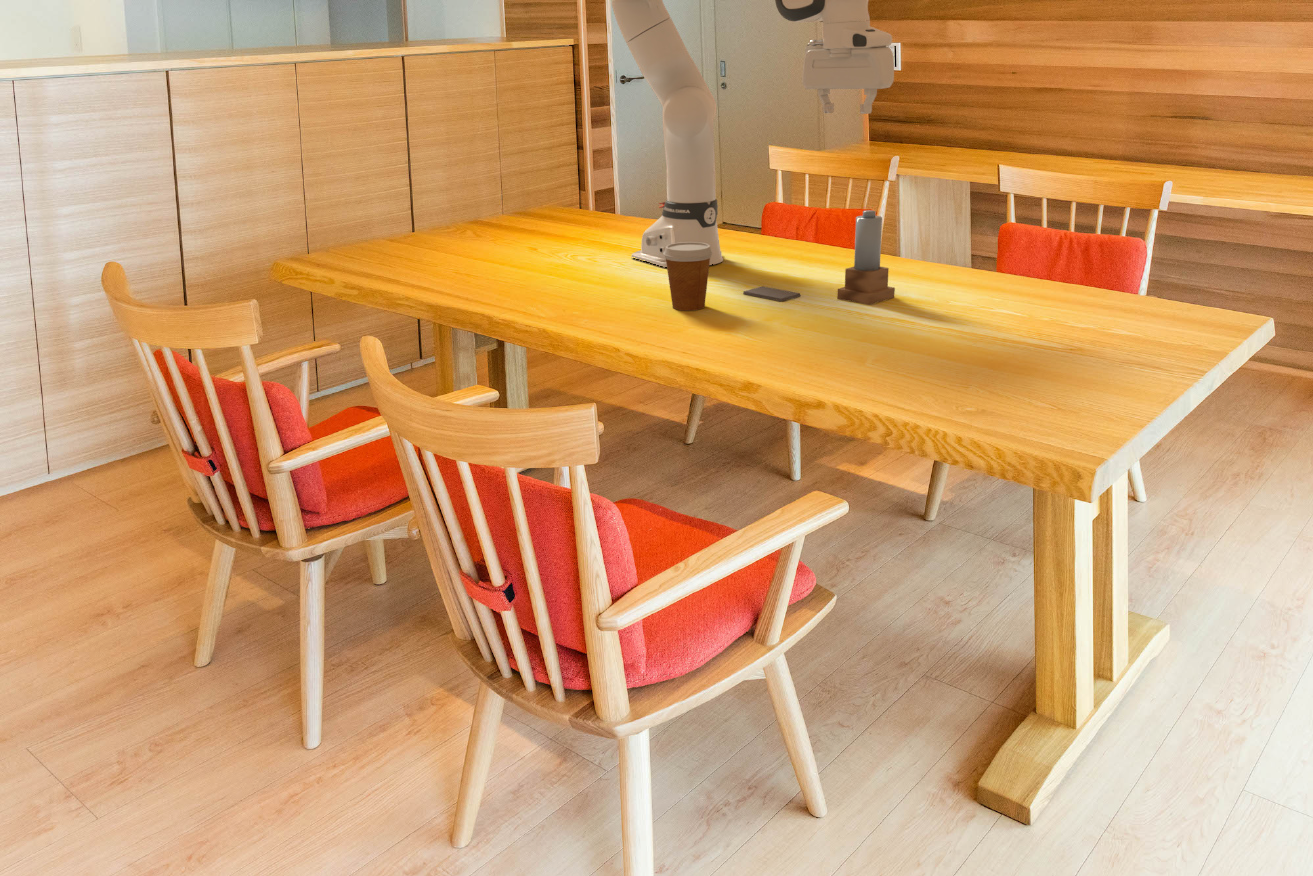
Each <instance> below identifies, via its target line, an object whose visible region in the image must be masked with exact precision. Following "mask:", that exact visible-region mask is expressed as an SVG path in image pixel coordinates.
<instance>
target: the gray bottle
mask: <svg viewBox="0 0 1313 876" xmlns="http://www.w3.org/2000/svg"><path fill="white" fill-rule="evenodd" d="M876 214H877V213H876V210H872V209H870V210H869V209H867V210H863V211H862V215H858V216H856V217H855V234H854V235H855V239H854V263H853V264H854V265H853V267H854V269H856V270H860V271H875V270H879V269H880V267H881V251H882V233H883V232H882V227H883V217H882V216H880V215H876Z"/></svg>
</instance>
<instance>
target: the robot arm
mask: <svg viewBox="0 0 1313 876" xmlns="http://www.w3.org/2000/svg"><path fill="white" fill-rule="evenodd" d="M869 1H870V0H774V2H775V7H776V9H777V11H778V12H779V14H780V15H781V17H782V18H784V20H786V21H790V22H793V23H814V22H815V23H817V22H820V23H822V39H811V40H810V42H808V43H807V45H806V46H805V48H804V59H803V68H802V85H803V87H804V88H805V90H817V96H818V98H819V101H820V102H821V104H822V113H823V114H831V113H834V111H835V102H831V100H830V97H829V95H830V94H831V90H839V89H840V90H863V93H864V96H865V98H864V102H863V103H860V104H859V109H860V110H859V113H860V114H865V115H866V114H867V115H869V114H871V113H872V111H873V103H874V101H875V98H876V97H877V95H878V90H880V89H883V90H884V89H887V88H888V89H889V88H891V86H892V85H893V83H894V81H895V61H894V53H893V51H892V49H891V48H890V47H889V46H891V45H892V43H893V35H892V34H891V33H889V32H886V31H883V30H881V29H878V28H875V27H873V26H871V25H870V24H871V21H870V20H871V18H870V14H869V9H868V8H869ZM610 3H611V7H612V10H613V14H614V16H615V21H616V23H617V26H618V28H619V30H620V33H621V34H622V37H623V39H624V42H625V43H626V45H627V48H628V49H629V51H630V53H631V55H632V57H633V59H634V61H635V62H636V64H637V67H638V68H639V70H640V73H641V74H642V76H643V78H644V79H645V81H646V82H647V83H648V85H649V86H650V89H652V91H653V92H654V95H656V97H657V99H658V101H659V103H660V104H661V106H662V128H663V143H664V153H665V162H666V163H665V164H666V165H665V166H666V193H667V194H666V200H665V201H664V202H663V201H662V202H658V205H659V206H658V209H662V212H661V216H660V217H659V218H658V219H657V220H656V221H655V222H653V223H652V224H651V225H650V226H649V227H648V228H647V229H645V231H644V232H643V234H642V236H641V248H640V249H641V250H638V251H635V252H633V253H631V258H632V257H635V258H637V259H641V260H645V261H647V262H651V263H653V264H656V265H655V266H657V265H659V266H658V267H660V266H663V267H662V268H665V267H667V264H666V259H665V256H664V254H663V253H664V252H665V248H666V246H667V245H669V244H673V243H680V242H699V243H706V244H708V245H710V248H711V251H712V255H711V258H710V263H709V266H712V264H713V265H716V264H720V263H721V262H723V261H724V258H723V253H722V251H721V246H720V245H721V244H720V239H719V229H718V222H717V217H718V214H719V213H718V210H719V209H718V208H719V205H718V199H717V198H716V157H715V143H714V142H715V140H714V139H715V136H714V121H715V119H716V116H717V102H716V100H715V97H714V95H713V94H712V92H711V91H710V88H709V86H708V85H707V82H706V80H705V79H704V78H703V75H702V74H701V72H700V70H699V68H698V67H697V65H696V63H695V62H694V60H693V58H692V57H691V55H690V53H689V51H688V49H687V47H686V45H685V43H684V42H683V39H682V38H681V35H680V33H679V31H678V29H677V27H676V26H675V23H674V22H673V19H672V17H671V15H670V14H669V11H668V10H667V8H666V6H665V4H664V2H663V0H611V2H610ZM653 264H652V265H653Z"/></svg>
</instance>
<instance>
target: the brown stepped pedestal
mask: <svg viewBox="0 0 1313 876" xmlns="http://www.w3.org/2000/svg"><path fill="white" fill-rule="evenodd" d="M889 270H890V269H889V267H885V266H880V269H879V270H875V271H860V270H856V269H854V266H852V267H847V268H845V270H844V271H845V273H844V274H845V276H844V277H845V278H844V286H843V287H840V288H837V300H842V301H847V302H853V303H858V304H859V303H860V304H863V305H869V306H871V305H874V304H878V303H881V302H884V301H887V300H891V299H893V298H895V292H896V291H895V289H896V288H895V287H893V286H889Z"/></svg>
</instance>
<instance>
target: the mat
mask: <svg viewBox="0 0 1313 876" xmlns="http://www.w3.org/2000/svg"><path fill="white" fill-rule="evenodd" d="M743 295H745V296H751V297H757V298H762V299H766V300H770V301H771V300H772V301H777V302H785V301H789V300H793V299H796V298H798V297H801V292H796V291H791V290H786V289H785V290H784V289H779V288H775V287H769V286H764V285H762V286H758V287H755V288H751V289H746V290H744V291H743Z"/></svg>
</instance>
